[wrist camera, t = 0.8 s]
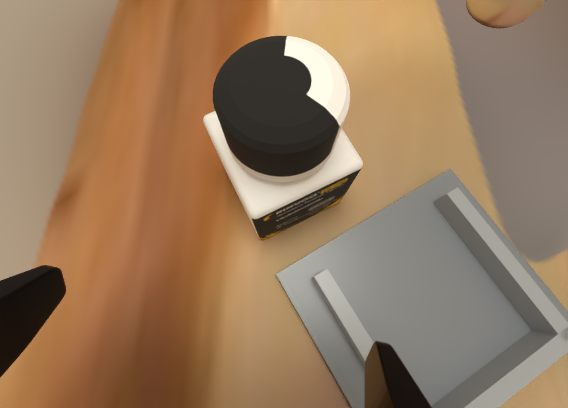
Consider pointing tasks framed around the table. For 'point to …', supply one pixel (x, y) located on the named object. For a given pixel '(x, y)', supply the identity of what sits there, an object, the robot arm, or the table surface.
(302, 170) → the medicine bottle
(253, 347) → the table surface
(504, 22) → the plastic bottle
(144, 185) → the table surface
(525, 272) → the bottle holder
